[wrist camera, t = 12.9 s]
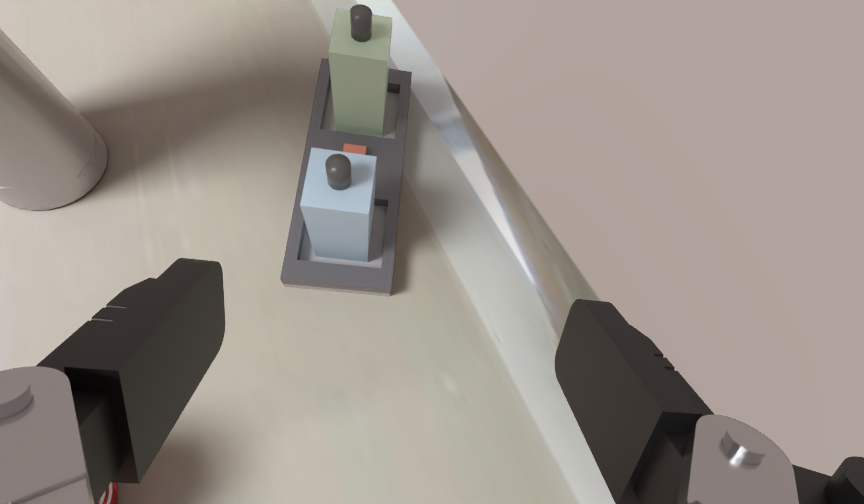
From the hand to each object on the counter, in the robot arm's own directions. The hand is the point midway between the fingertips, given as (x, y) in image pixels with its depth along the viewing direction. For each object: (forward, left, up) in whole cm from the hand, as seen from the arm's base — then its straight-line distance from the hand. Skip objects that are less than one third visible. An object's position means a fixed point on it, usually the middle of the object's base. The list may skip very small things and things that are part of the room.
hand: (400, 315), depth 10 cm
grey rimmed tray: (-4, +19, -28) cm, 34 cm away
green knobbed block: (-4, +26, -27) cm, 37 cm away
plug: (-4, +13, -27) cm, 30 cm away
